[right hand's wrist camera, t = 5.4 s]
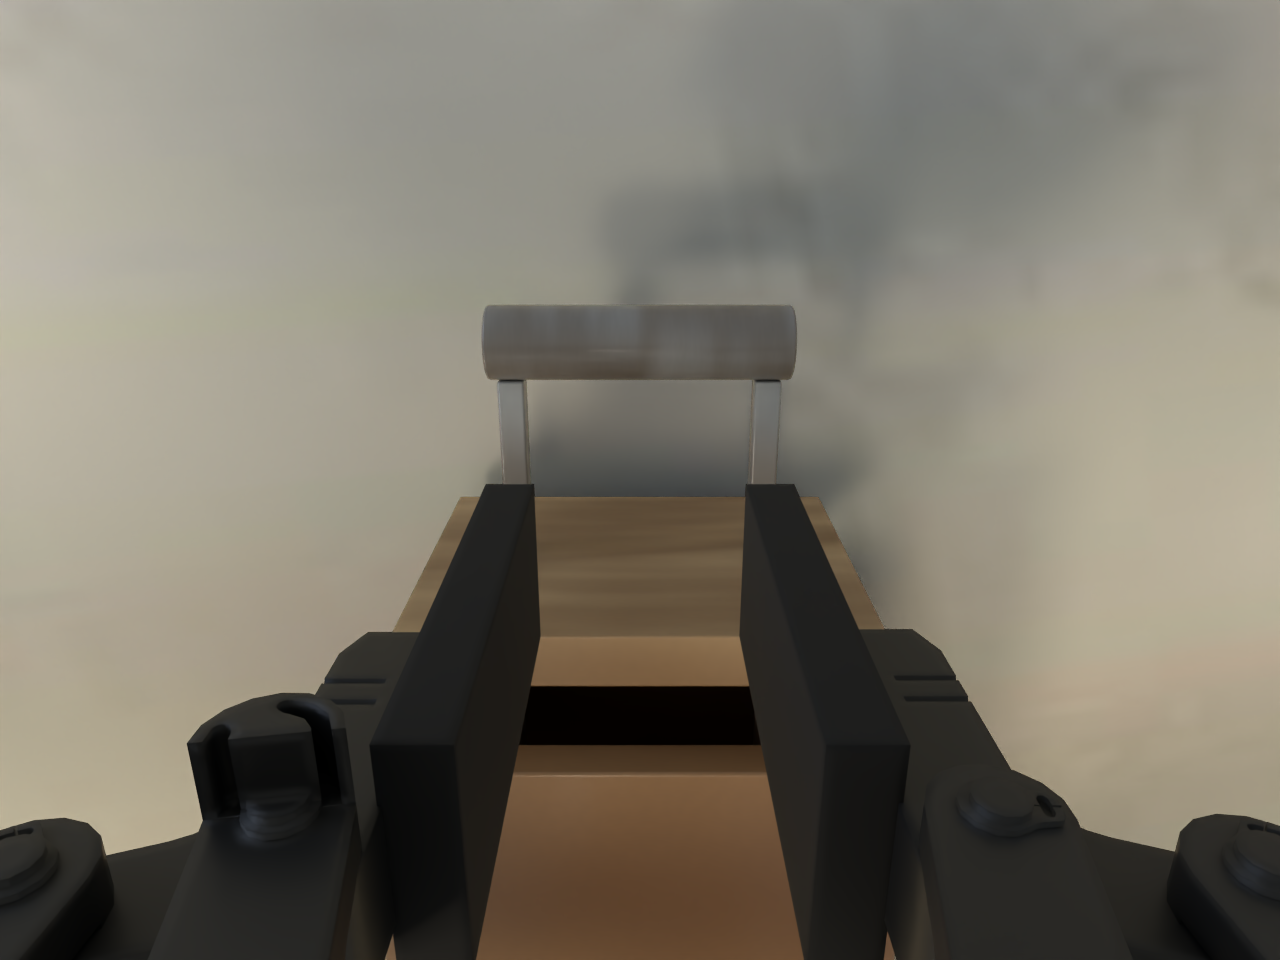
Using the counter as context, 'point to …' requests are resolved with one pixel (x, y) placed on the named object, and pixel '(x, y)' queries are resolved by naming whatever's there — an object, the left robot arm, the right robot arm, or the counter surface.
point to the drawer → (639, 531)
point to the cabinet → (640, 858)
